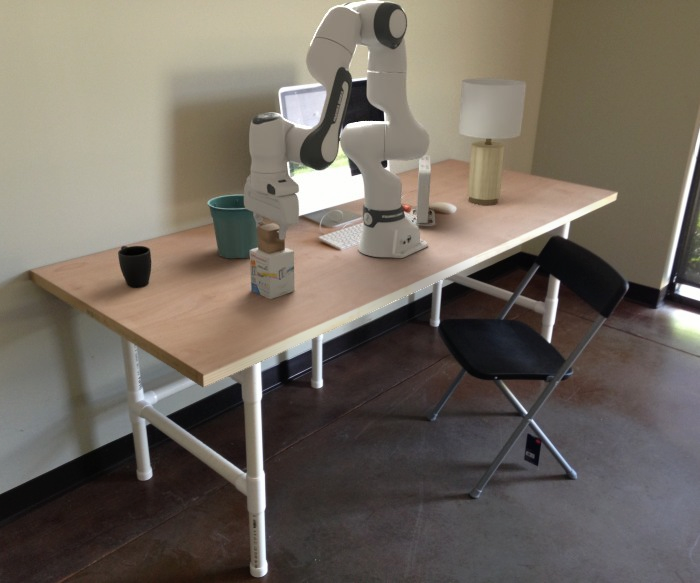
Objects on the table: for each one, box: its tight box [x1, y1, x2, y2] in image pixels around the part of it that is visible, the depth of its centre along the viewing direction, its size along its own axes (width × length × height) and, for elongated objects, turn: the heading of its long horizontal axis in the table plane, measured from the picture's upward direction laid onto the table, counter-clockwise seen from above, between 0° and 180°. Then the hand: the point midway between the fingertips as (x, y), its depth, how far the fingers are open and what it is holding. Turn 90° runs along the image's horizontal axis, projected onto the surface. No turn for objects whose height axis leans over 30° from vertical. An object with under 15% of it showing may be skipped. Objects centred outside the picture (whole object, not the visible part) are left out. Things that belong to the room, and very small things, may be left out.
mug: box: [117, 245, 152, 289], centre depth 183 cm, size 8×12×10 cm
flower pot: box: [207, 194, 258, 260], centre depth 203 cm, size 16×16×16 cm
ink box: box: [249, 246, 296, 300], centre depth 178 cm, size 9×8×12 cm
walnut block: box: [257, 222, 286, 254], centre depth 174 cm, size 5×5×6 cm
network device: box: [409, 154, 436, 227], centre depth 237 cm, size 26×9×20 cm, turn 175°
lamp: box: [458, 77, 527, 206], centre depth 253 cm, size 23×23×44 cm
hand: (271, 233), depth 174 cm, fingers open, 8 cm apart
